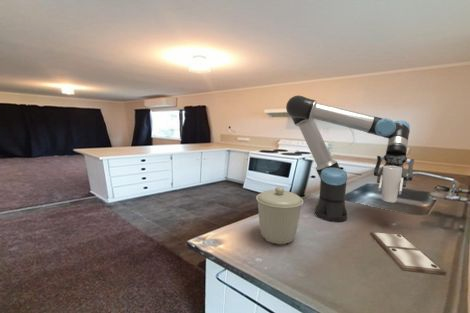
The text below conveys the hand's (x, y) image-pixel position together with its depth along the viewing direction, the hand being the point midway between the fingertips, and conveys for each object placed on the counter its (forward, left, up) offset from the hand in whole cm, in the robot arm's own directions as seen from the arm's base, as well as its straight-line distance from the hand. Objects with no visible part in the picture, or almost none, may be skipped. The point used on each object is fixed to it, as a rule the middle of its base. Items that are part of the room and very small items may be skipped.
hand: (389, 190), depth 91 cm
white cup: (+2, +3, -6) cm, 7 cm away
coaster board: (-2, -16, -18) cm, 24 cm away
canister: (-46, -14, -18) cm, 52 cm away
